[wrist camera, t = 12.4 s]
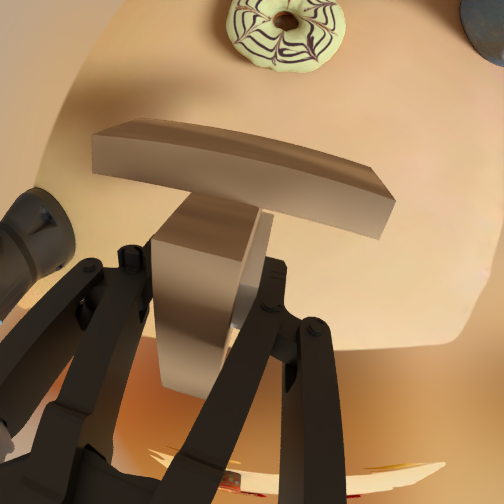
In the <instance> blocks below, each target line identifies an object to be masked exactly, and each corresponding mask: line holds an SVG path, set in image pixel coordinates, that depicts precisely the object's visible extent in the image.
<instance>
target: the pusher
mask: <svg viewBox="0 0 504 504" xmlns="http://www.w3.org/2000/svg"><path fill="white" fill-rule="evenodd" d="M92 173H95V174H101V175H107V176H112V177H118V178H123V179H129V180H134V181H139V182H145V183H150V184H155V185H160V186H165V187H170V188H175V189H179V190H184V191H189V192H192V193H191V194H190V195H189V196H188V197H187V198H186V199H185V200H184V201H183V203H182V204H181V205H180V206H179V207H178V208H177V209H176V210H175V211H174V213H173V214H172V215H171V216H170V217H169V218H168V219H167V221H166V222H165V223H164V224H163V225H162V226H161V228H160V229H159V230H158V231H157V232H156V233H155V235H154V236H153V237H152V238H151V260H152V286H153V303H154V317H155V328H156V339H157V348H158V357H159V365H160V373H161V381H162V386H163V387H166V388H169V389H172V390H175V391H179V392H182V393H185V394H188V395H191V396H195V397H198V398H202V399H205V400H206V399H207V397H208V395H209V393H210V391H211V389H212V387H213V385H214V383H215V381H216V379H217V377H218V375H219V373H220V371H221V369H222V367H223V363H224V360H225V356H226V352H227V348H228V345H229V342H230V338H231V334H232V331H233V328H232V327H230V326H231V321H232V316H233V312H234V307H235V302H236V298H237V293H238V289H239V284H240V280H241V277H242V274H243V271H244V267H245V264H246V261H247V257H248V254H249V251H250V247H251V244H252V241H253V237H254V234H255V231H256V227H257V224H258V221H259V218H260V214H261V212H262V208H263V209H267V210H271V211H275V212H279V213H283V214H287V215H291V216H295V217H298V218H302V219H306V220H310V221H313V222H317V223H321V224H324V225H328V226H332V227H335V228H339V229H342V230H346V231H350V232H353V233H356V234H360V235H363V236H367V237H370V238H374V239H377V240H379V239H380V237H381V234H382V232H383V230H384V228H385V225H386V223H387V221H388V219H389V216H390V214H391V212H392V209H393V207H394V204H395V202H396V200H395V199H394V197H393V196H392V195H391V193H390V192H389V191H388V189H387V188H386V187H385V185H384V184H383V183H382V181H381V180H380V179H379V177H378V176H377V175H376V174H375V172H374V171H373V170H372V169H371V167H368V166H365V165H362V164H359V163H356V162H353V161H350V160H347V159H344V158H340V157H337V156H334V155H330V154H327V153H324V152H320V151H317V150H313V149H309V148H306V147H302V146H298V145H294V144H290V143H286V142H282V141H278V140H274V139H270V138H265V137H261V136H256V135H252V134H247V133H242V132H237V131H231V130H226V129H220V128H215V127H209V126H202V125H196V124H189V123H182V122H174V121H166V120H157V119H147V118H140V119H137V120H133V121H130V122H127V123H124V124H121V125H118V126H115V127H112V128H109V129H107V130H104V131H101V132H98V133H96V134H93V135H92Z"/></svg>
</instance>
